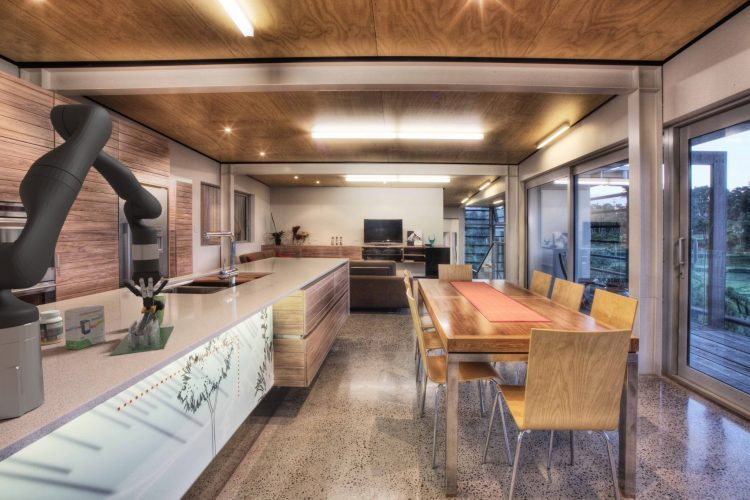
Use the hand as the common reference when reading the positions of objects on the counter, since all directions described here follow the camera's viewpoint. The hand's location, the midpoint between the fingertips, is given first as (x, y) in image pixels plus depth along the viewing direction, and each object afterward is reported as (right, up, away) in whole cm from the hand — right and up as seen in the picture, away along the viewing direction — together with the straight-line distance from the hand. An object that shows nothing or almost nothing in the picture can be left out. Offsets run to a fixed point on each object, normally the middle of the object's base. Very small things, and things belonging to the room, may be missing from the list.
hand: (148, 307), depth 115 cm
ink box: (-13, -10, -10) cm, 19 cm away
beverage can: (-5, -9, +11) cm, 15 cm away
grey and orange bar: (+3, -3, -6) cm, 8 cm away
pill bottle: (-26, -10, -7) cm, 29 cm away
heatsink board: (+3, -9, -5) cm, 11 cm away
